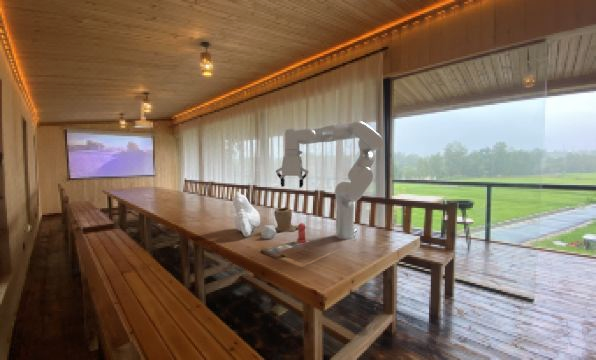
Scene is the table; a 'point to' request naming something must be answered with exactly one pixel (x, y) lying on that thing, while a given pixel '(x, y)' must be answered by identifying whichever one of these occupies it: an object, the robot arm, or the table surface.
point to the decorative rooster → (245, 215)
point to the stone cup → (284, 220)
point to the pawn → (301, 233)
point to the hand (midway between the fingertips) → (291, 186)
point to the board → (274, 251)
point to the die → (268, 232)
